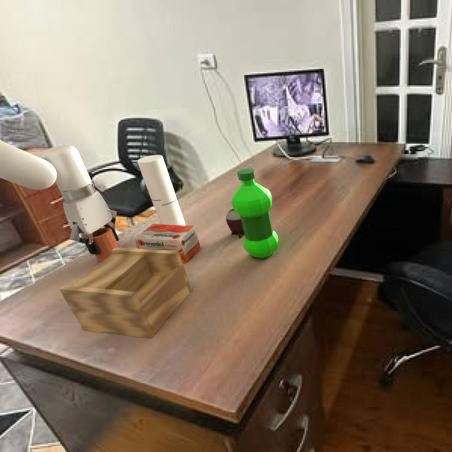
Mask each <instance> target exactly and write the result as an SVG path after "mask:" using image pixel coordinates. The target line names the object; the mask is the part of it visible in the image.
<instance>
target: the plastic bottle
mask: <svg viewBox="0 0 452 452" xmlns="http://www.w3.org/2000/svg"><path fill="white" fill-rule="evenodd" d="M255 171H256V170H255V169H254V168H243V169H240V170H238V171H237V177H238V180H239V181H240V182H241V185H240V186H239V187H238V188H237V190H236V191H235V192H234V193H233V196H232V199H231V207H232V209H234V211H235V212H236V213H238V214H239V215H240V218H241V222H242V226H243V230H244V233H243V234H244V240H243V248H244V251H246V252H247V254H249V255H250V256H252V257H254V258H257V259H265V258H268V257H270V256H271V255H272V254H273V253H275V252H276V250H277V248H278V246H279V235H278V234H277V232H276V231H275V230H274V227H273V222H272V215H271V212H270V210H271V208H272V205H273V197H272V193H271V191H270V189H268V188H266V187H264V186H262V185H261V184H259V183H257V182H255V178H256V177H257V176H256V172H255Z"/></svg>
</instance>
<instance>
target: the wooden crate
mask: <svg viewBox="0 0 452 452" xmlns="http://www.w3.org/2000/svg"><path fill="white" fill-rule="evenodd" d="M112 252H113V254H112V255H111V256H109V257H108V258H107V259H105V260H104V261H103V262H101V263H98V264H97V265H96V266H95V267H93V268H92V269H90V270H89V271H88V272H87V273H85V274H84V275H82V276H81V277H80V278H78V279H77V280H76V281H75V282H73V283H72V284H71V285H62V286H60V288H58V290H59V292H60V294H61V295H62V297H63V299H64V300H65V302H66V303H67V306H68V307H69V309H70V310H71V312H72V314H73V315H74V317H75V318H76V321H77V322H78V324H79V325H80V327H81V328H82V330H83V331H86V332H87V331H88V332H94V333H95V332H96V333H102V334H103V333H104V334H112V335H119V336H127V337H135V338H144V339H152V338H153V337H154V336H155V335H156V334H157V333H158V332H159V330H160V329H161V328H162V327H163V325H165V323H166V322H167V321H168V320H169V319H170V317H171V316H172V315H173V314H174V313H175V312H176V310H177V309H178V308H179V307H180V306H181V305H182V303H183V302H184V301H185V300H186V299H187V297H189V296H190V294H191V293H192V292H193V288H192V285H191V283H190V280H189V277H188V274H187V272H186V268H185V266H184V263H182V260H181V257H180V255H179V252H178V251H169V250H151V249H138V248H134V247H133V248H132V247H131V248H130V247H120V248H114V249H112Z"/></svg>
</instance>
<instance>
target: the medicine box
mask: <svg viewBox="0 0 452 452" xmlns="http://www.w3.org/2000/svg"><path fill="white" fill-rule="evenodd" d="M134 240H135V244H136V247H137V249H151V250H169V251H178V252H179V255H180V257H181V260H182V263H183V264H187V263H188V262H189V261H190V260H191V259H192V258H193V257H194V256H195V255H196V254H197V253H198V252H199V251H200V250H201V244H200V239H199V236H198V235H197V232H196V229H195V225H187V224H185V225H164V224H160V223H153V224H151V225H149V226H148V227H147V228H145V229H144V230H143V231H142V232H140V233H139V234H138V235H136V236H135V237H134Z"/></svg>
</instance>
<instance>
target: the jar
mask: <svg viewBox="0 0 452 452" xmlns="http://www.w3.org/2000/svg"><path fill="white" fill-rule="evenodd" d="M86 237H87V235H86ZM87 239H88V237H87ZM93 242H96V244H97V246H98V248H99V250H100V252H101V254H99V255H94V256H95V258H96V260H97V262H98V264H100V263H101V262H103V261H104V260H105V259H107V258H108V257H109V256H111V255H112V254H113V252H112V249H114V248H121V247H120V245H119V243H118V241H116V239H115V236H114V234H113V232H112V230H111V228H109V227H104V226H103V227H101V228H100V229H98V230H96V231H95V232H93Z"/></svg>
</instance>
